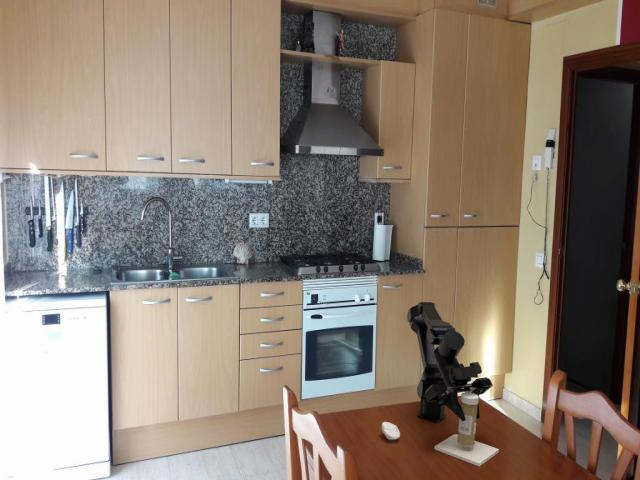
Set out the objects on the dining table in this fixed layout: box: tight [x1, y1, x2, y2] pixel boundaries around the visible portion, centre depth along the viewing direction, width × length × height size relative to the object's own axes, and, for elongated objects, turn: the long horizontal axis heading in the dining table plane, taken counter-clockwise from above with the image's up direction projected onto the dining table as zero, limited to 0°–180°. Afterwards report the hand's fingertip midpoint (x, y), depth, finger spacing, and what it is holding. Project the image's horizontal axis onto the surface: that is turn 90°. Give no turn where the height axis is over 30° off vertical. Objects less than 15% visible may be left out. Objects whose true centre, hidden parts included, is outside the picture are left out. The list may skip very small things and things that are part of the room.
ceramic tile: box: [434, 433, 500, 468], centre depth 148 cm, size 13×11×1 cm
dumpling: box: [381, 421, 401, 441], centre depth 154 cm, size 7×5×4 cm
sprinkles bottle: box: [457, 392, 480, 447], centre depth 147 cm, size 5×5×13 cm
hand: (471, 419), depth 146 cm, fingers closed on sprinkles bottle, 4 cm apart
